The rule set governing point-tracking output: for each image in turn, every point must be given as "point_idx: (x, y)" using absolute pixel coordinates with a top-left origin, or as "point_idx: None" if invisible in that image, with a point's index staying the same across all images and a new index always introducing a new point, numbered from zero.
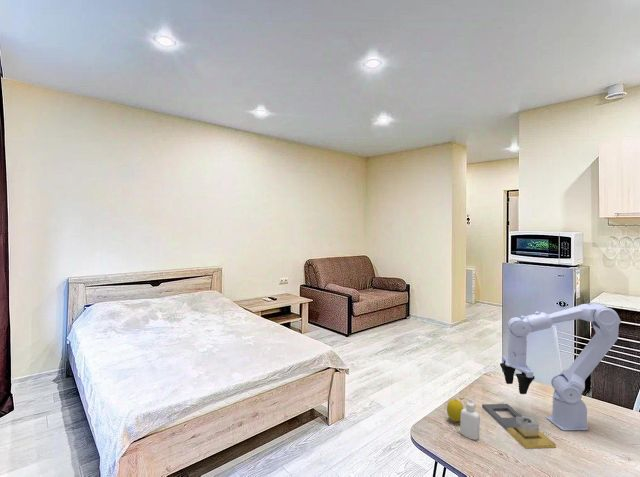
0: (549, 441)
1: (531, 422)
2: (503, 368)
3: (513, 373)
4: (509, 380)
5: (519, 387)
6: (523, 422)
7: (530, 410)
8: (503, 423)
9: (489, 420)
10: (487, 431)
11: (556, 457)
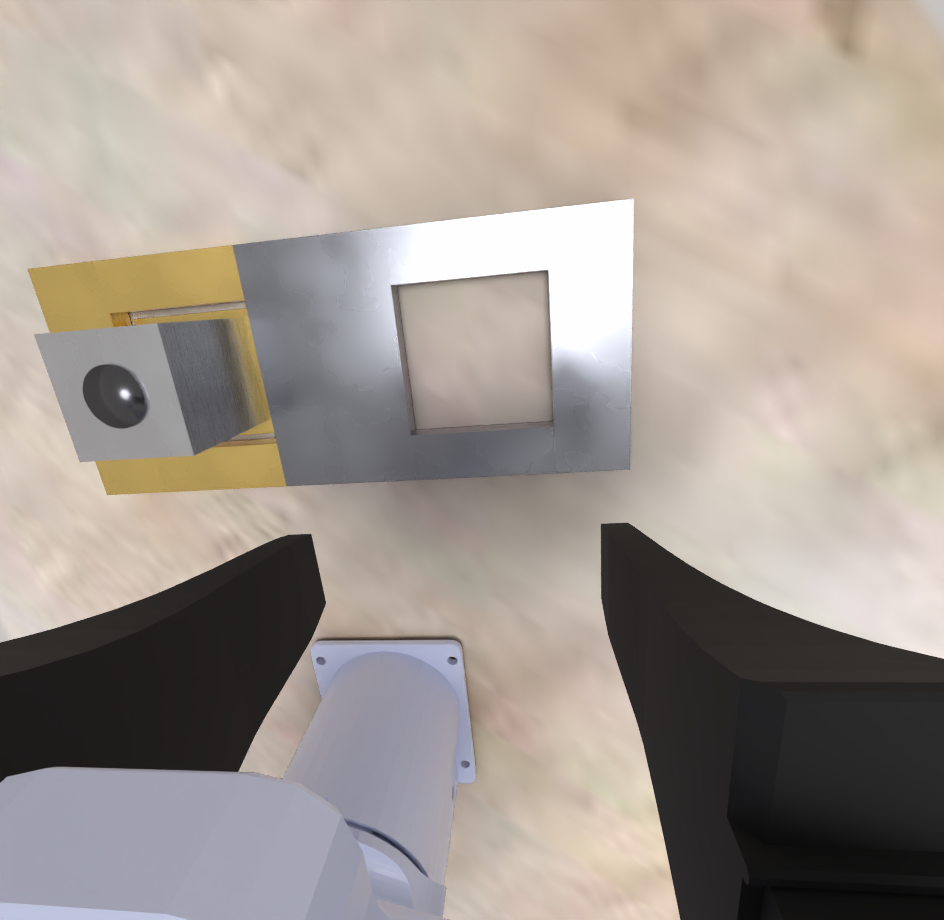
0: (128, 475)
1: (91, 414)
2: (731, 646)
3: (649, 757)
4: (612, 589)
5: (236, 566)
6: (70, 338)
7: (559, 602)
8: (295, 249)
9: (387, 163)
10: (203, 47)
11: (23, 428)
